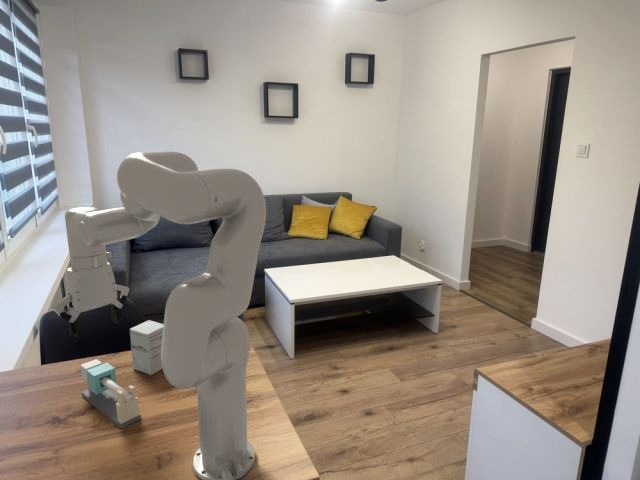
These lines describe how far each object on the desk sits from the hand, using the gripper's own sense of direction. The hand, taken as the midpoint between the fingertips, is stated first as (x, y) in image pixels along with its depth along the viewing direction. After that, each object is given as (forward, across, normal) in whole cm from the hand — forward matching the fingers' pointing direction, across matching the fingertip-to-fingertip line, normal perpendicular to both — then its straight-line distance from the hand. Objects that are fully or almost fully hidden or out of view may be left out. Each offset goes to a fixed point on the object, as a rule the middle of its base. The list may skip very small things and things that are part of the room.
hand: (96, 329), depth 106 cm
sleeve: (+16, 0, 0) cm, 16 cm away
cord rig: (+20, 0, +3) cm, 20 cm away
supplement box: (+20, -17, -7) cm, 27 cm away
